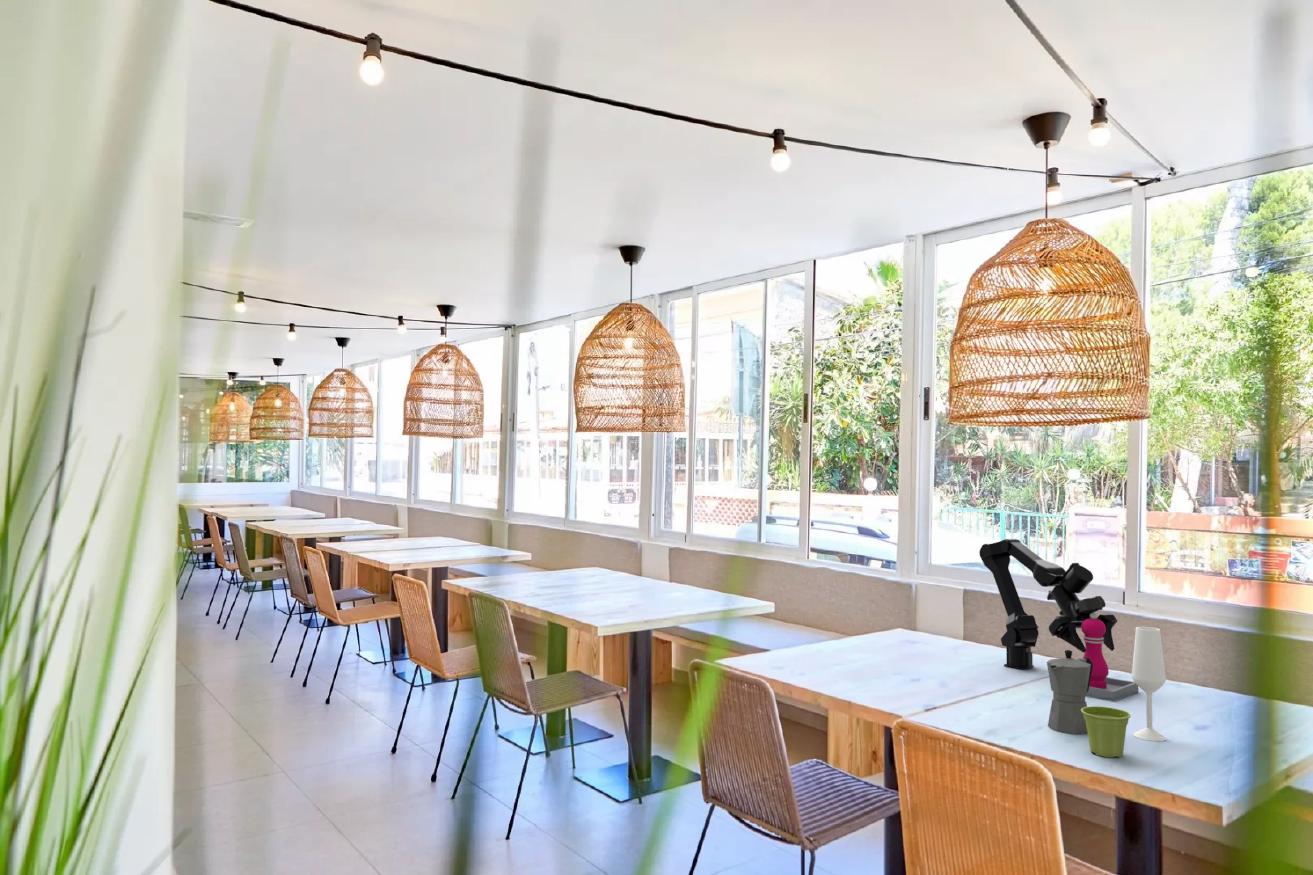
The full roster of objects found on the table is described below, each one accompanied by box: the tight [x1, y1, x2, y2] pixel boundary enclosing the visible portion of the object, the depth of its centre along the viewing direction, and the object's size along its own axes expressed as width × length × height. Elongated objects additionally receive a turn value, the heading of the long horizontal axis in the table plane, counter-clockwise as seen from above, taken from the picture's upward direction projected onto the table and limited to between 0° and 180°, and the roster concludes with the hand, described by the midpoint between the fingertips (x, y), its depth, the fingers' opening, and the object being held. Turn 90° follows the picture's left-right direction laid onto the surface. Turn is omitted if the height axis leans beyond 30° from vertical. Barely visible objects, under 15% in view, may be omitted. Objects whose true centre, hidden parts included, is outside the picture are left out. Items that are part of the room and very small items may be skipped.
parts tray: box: [1085, 676, 1139, 702], centre depth 237 cm, size 16×16×2 cm
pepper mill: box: [1080, 612, 1110, 689], centre depth 238 cm, size 7×7×20 cm
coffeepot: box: [1046, 649, 1093, 735], centre depth 202 cm, size 15×9×18 cm, turn 121°
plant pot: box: [1081, 705, 1132, 758], centre depth 184 cm, size 9×9×9 cm
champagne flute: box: [1131, 626, 1168, 742], centre depth 196 cm, size 7×7×24 cm
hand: (1099, 650), depth 236 cm, fingers open, 9 cm apart
